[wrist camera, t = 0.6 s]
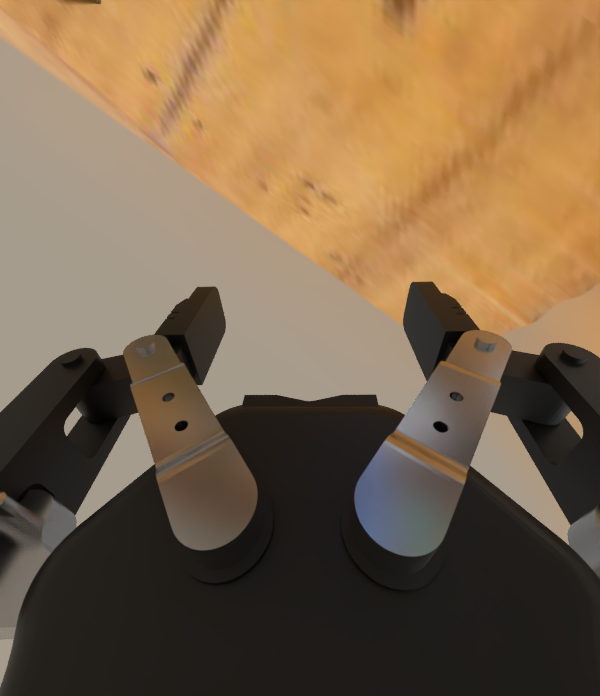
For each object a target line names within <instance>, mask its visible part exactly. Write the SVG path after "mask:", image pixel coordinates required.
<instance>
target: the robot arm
mask: <svg viewBox="0 0 600 696" xmlns="http://www.w3.org/2000/svg"><path fill="white" fill-rule="evenodd" d="M403 325H404V330H405V332H406V335H407V337H408V340H409V342H410V344H411V346H412V349H413V351H414V353H415V355H416V358H417V360H418V362H419V365H420V367H421V369H422V371H423V374H424V376H425V378H426V381H427V383H426V384H425V386H424V387H423V389H422V390H421V392H420V393H419V395H418V396H417V398H416V399H415V401H414V403H413V404H412V406H411V407H410V408H409V410H408V412H407V413H406V415H404V414H402V413H400V412H398V411H396V410H394V409H391V408H388V407H385V406H380V405H378V402H377V398H376V395H340V396H335V397H330V398H326V399H321V400H316V401H303V400H298V399H293V398H288V397H284V396H278V395H245V397H244V401H243V405H240V406H237V407H233V408H230V409H228V410H226V411H223V412H221V413H220V414H217V415H216V416H215V415H214V413H213V412H212V410H211V408H210V407H209V405H208V403H207V402H206V400H205V398H204V396H203V395H202V393H201V391H200V390H199V388H198V386H197V385H202V384H203V382H204V380H205V377H206V375H207V373H208V370H209V368H210V366H211V363H212V361H213V359H214V356H215V354H216V352H217V349H218V347H219V345H220V342H221V340H222V338H223V335H224V333H225V328H226V322H225V316H224V312H223V308H222V304H221V300H220V296H219V292H218V289H217V288H216V287H197V288H196V289H195V291H194V292H193V293H192V295H191V296H190V298H189V299H185V300H183V301H182V302H180V303H179V304H177V305H176V306H175V308H174V309H173V310H172V312H171V314H169V315H168V317H167V319H165V321H164V322H163V323H162V325H161V326H160V327H159V329H158V330H157V331H156V333H155V334H154V335H149V336H145V337H141V338H139V339H137V340H135V341H133V342H131V343H130V344H129V345H128V346H127V347H126V348H125V349H124V353H123V355H119V356H115V357H110V358H105V359H101V358H100V356H99V355H98V353H97V352H96V351H95V350H94V349H91V348H81V349H76V350H73V351H70V352H67V353H65V354H63V355H61V356H59V357H58V358H56V359H55V360H53V361H52V362H51V363H50V364H49V365H48V366H47V367H46V368H45V369H44V370H43V371H42V372H41V373H40V374H39V375H38V376H37V377H36V378H35V379H34V380H33V381H32V382H31V383H30V384H29V385H28V386H27V387H26V388H25V389H24V390H23V391H22V392H21V393H20V394H19V395H18V396H17V397H16V398H15V399H14V400H13V401H12V402H11V403H10V404H9V405H8V406H6V408H4V409H3V411H1V412H0V639H14V640H13V646H12V650H11V654H10V658H9V661H8V666H7V669H6V672H5V675H4V678H3V682H2V684H1V687H0V696H600V358H599V357H598V356H596V355H595V354H593V353H592V352H590V351H588V350H585V349H583V348H581V347H577V346H574V345H570V344H565V343H551V344H548V345H546V346H545V347H544V349H543V350H542V352H541V353H540V355H534V354H529V353H523V352H517V351H513V350H512V346H511V344H510V343H509V342H508V341H507V340H506V339H504V338H503V337H501V336H499V335H497V334H495V333H492V332H488V331H483V330H480V329H479V328H478V327H477V325H476V324H475V323H474V322H473V320H472V319H471V318H470V317H469V315H468V314H466V312H465V310H464V309H463V308H461V306H460V304H459V303H458V302H457V301H456V299H454V298H452V297H451V296H449V295H447V294H445V293H441V292H440V291H439V289H438V288H437V287H436V286H435V284H434V283H433V282H412V283H411V285H410V288H409V293H408V298H407V303H406V307H405V312H404V318H403ZM75 407H77V409H78V410H79V411H80V413H81V414H82V417H81V418H80V419H79V420H78V422H77V423H76V425H75V426H74V427H73V429H72V430H71V431H70V433H69V434H68V436H66V435H65V432H64V424H65V421H66V419H67V417H68V416H69V415H70V413H71V412H72V411H73V410H74V408H75ZM570 411H572V412H573V413H574V414H575V415H576V417H577V418H578V419H579V421H580V422H581V424H582V427H583V437H582V439H581V438H580V436H579V435H578V434H577V432H576V431H575V430H574V429H573V427H572V426H571V425H570V423H569V422H568V421H567V420H566V418H565V417H566V416H567V414H569V412H570ZM490 412H494V413H498V414H502V415H506V416H508V418H509V420H510V422H511V424H512V425H513V427H514V429H515V431H516V432H517V434H518V436H519V437H520V439H521V441H522V442H523V444H524V446H525V448H526V449H527V451H528V453H529V455H530V456H531V458H532V460H533V461H534V463H535V465H536V467H537V468H538V470H539V472H540V473H541V475H542V477H543V479H544V480H545V482H546V484H547V485H548V487H549V489H550V491H551V492H552V494H553V496H554V498H555V499H556V501H557V503H558V504H559V506H560V508H561V509H562V511H563V513H564V515H565V516H566V518H567V520H568V522H569V523H570V525H571V526H570V528H569V530H568V541H569V545H570V546H569V545H567V544H566V543H565V542H564V541H563V540H562V539H561V538H559V537H558V536H557V535H556V534H554V533H553V532H552V531H551V530H549V529H548V528H547V527H546V526H544V525H543V524H542V523H541V522H539V521H538V520H537V519H536V518H535V517H533V516H532V515H531V514H530V513H528V512H527V511H526V510H525V509H523V508H522V507H521V506H520V505H518V504H517V503H516V502H515V501H513V500H512V499H511V498H510V497H508V496H507V495H506V494H505V493H504V492H502V491H501V490H500V489H499V488H497V487H496V486H495V485H494V484H492V483H491V482H490V481H489V480H487V479H486V478H485V477H484V476H482V475H481V474H480V473H479V472H477V471H476V470H475V469H474V468H472V467H471V466H470V464H471V461H472V458H473V456H474V453H475V451H476V448H477V445H478V443H479V440H480V438H481V435H482V432H483V430H484V427H485V424H486V422H487V419H488V416H489V414H490ZM134 413H139V416H140V419H141V422H142V425H143V428H144V432H145V435H146V438H147V441H148V444H149V447H150V451H151V454H152V457H153V460H154V463H155V464H154V465H153V466H152V467H151V468H149V469H148V470H147V471H146V472H144V473H143V474H142V475H141V476H139V477H138V478H137V479H136V480H134V481H133V482H132V483H131V484H129V485H128V486H127V487H126V488H125V489H123V490H122V491H121V492H120V493H118V494H117V495H116V496H115V497H113V498H112V499H111V500H110V501H109V502H107V503H106V504H105V505H104V506H102V507H101V508H100V509H99V510H97V511H96V512H95V513H94V514H93V515H92V516H90V517H89V518H88V519H86V520H85V521H84V522H83V523H81V524H80V525H79V526H78V527H76V517H75V515H76V513H77V511H78V509H79V507H80V506H81V504H82V502H83V500H84V498H85V497H86V495H87V493H88V491H89V489H90V488H91V486H92V484H93V482H94V480H95V479H96V477H97V475H98V473H99V471H100V470H101V468H102V466H103V464H104V462H105V461H106V459H107V457H108V455H109V453H110V452H111V450H112V448H113V446H114V444H115V442H116V441H117V439H118V437H119V435H120V434H121V431H122V430H123V428H124V426H125V425H126V423H127V421H128V419H129V417H130V415H131V414H134Z"/></svg>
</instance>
